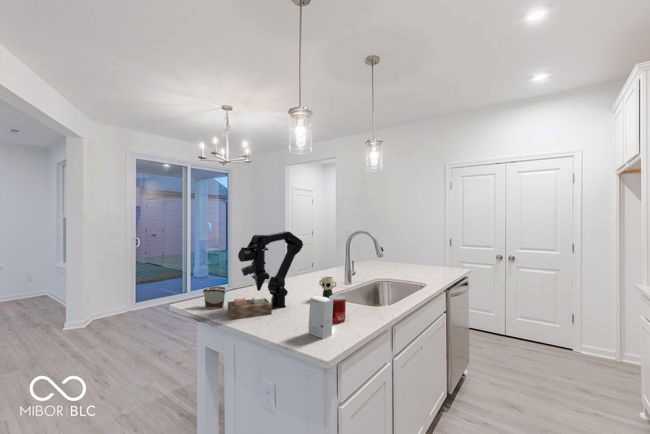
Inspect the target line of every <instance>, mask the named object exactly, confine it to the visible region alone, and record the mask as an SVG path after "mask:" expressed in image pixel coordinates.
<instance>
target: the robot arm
mask: <svg viewBox="0 0 650 434" xmlns="http://www.w3.org/2000/svg"><path fill="white" fill-rule="evenodd" d="M250 239H251V240H250V241H249V243H248V244H247V245H246V247H245V246H244V247H243V246H242V247H240V250H239V251H238V254H237V257H238V260H239V261H240V262H241V263H242V262H251V264H250V265H247V266H245V267H242V268H241V269H240V270H241V273H242V275H243V276H244V277H245V276H248V275H251V278H253V279H254V281H255V286H256V289H257V291H259V292H260V291H261V289H262V287H263V285H264V283H265V281H266V280H268V281H267V282H268V283H267V284H268V285H267V289H268V291H269V294H270V295H272V297H270V301H271V302H270V303H271V304H272V308H273V309H281V308H286V307H287V306H286V296H288V293H289V292H288V290H287V289H286V288H285V287H286V277H287V274H288V272H289V270H290V268H291V265H292V263H293V261H294V259H295V257H296V255H297V254H299V253H300V251H301V250H302V248H303V247H304V244H303V243H304V242H303V240H302V239H300V238H299V237H297V236H296V235H294V234H293V233H292V232H291V231H281V232H276V233H272V234H253V236H252V237H251V238H250ZM279 241H284V243H286V244H287V246H286V253H285V255H284V258H283V260H282V262H281V264H280V266H279V268H278V271H277V272H276V274H275V276H270V274H269V273H268V272H267V271H266V268H265V266H266V260H265V258H266V255H265V254H266V253H265V251H269V248H268V247H267V246H268V245H269V244H270V243H274V242H279Z"/></svg>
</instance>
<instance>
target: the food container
mask: <svg viewBox="0 0 650 434" xmlns="http://www.w3.org/2000/svg"><path fill="white" fill-rule="evenodd" d="M202 293H203V294H204V295H203V296H204V307H205V309H223V308H224V305H225V298H226V296H225V295H226V293H227V290H226V287H225V286H209V287H204V288H203V291H202Z"/></svg>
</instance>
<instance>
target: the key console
mask: <svg viewBox="0 0 650 434" xmlns="http://www.w3.org/2000/svg"><path fill="white" fill-rule="evenodd" d="M264 298H265V303H259V304H254V303H253V302H252V298H251V299H246V305H242V306H235V305H234V300H232V301H227V313H228V315H229V317H230V319H231V320H240V319H246V318H247V319H248V318H254V317H256V318H257V317H260V316H261V317H262V316H269V315H272V311H273V309H272V308H273V307H272V304H271V302H270V301H269V300H268V299H267V298H266V297H264Z"/></svg>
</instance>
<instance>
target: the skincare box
mask: <svg viewBox="0 0 650 434" xmlns="http://www.w3.org/2000/svg"><path fill="white" fill-rule="evenodd" d="M322 296H323V295H322ZM322 296H321V295H316V296H315V295H314V296H311V297H309V312H308V334H309V335H312V336H314V337H318V338H319V339H322V340H323V339H325V338H329V337H330V336H332V335H333V334H332V332H333V323H332V316H333V299H329V298H327V297H322Z"/></svg>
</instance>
